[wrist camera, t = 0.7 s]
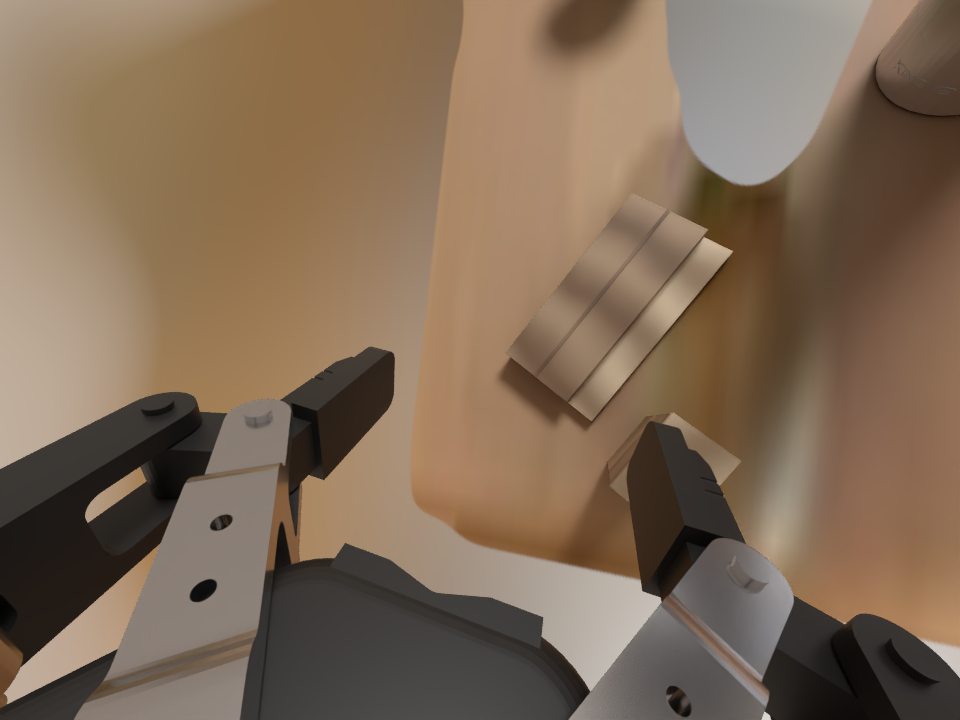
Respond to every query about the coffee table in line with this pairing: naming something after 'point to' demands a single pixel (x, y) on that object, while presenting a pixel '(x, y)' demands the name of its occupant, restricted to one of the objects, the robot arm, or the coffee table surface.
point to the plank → (695, 440)
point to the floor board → (617, 303)
